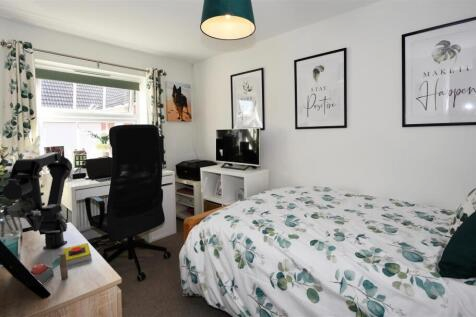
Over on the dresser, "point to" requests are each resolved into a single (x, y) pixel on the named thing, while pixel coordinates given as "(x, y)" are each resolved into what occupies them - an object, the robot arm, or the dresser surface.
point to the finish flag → (61, 265)
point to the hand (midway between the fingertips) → (36, 231)
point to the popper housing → (45, 275)
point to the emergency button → (77, 255)
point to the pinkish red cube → (39, 269)
